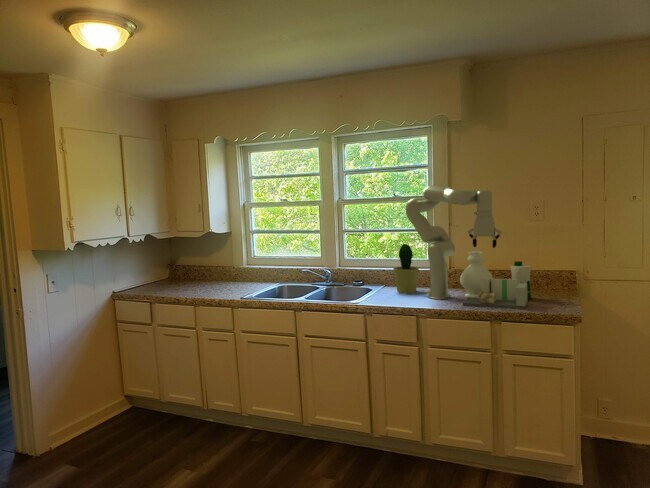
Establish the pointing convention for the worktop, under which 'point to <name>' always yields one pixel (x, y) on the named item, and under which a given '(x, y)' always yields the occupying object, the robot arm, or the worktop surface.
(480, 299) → the gauge slider
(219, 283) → the worktop surface
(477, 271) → the decorative vase
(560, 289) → the worktop surface
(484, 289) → the gauge frame
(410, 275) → the potted cactus
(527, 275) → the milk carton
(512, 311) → the worktop surface
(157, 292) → the worktop surface
